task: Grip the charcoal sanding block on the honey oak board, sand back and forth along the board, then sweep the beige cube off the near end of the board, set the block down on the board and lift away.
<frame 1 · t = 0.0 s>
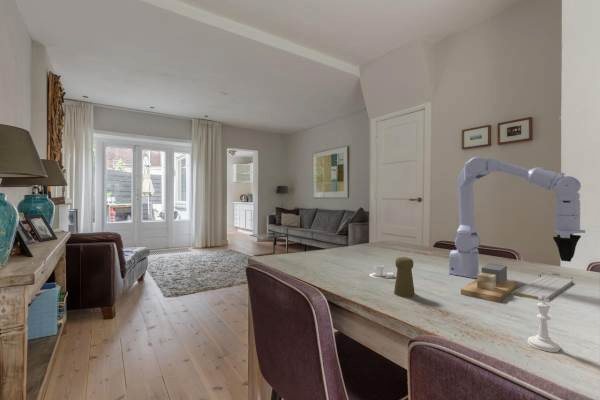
hand: (567, 259, 91), 10 cm above the table, tool pointing down, fingers open, 7 cm apart
teacup and saucer: (382, 279, 107), on the table
cork: (404, 294, 90), on the table
chess piece: (543, 346, 58), on the table
baseboard: (540, 289, 96), on the table
sanding block: (494, 282, 97), point 2 cm above the table, touching board
board: (490, 289, 93), on the table
beige cube: (486, 287, 90), point 2 cm above the table, touching board
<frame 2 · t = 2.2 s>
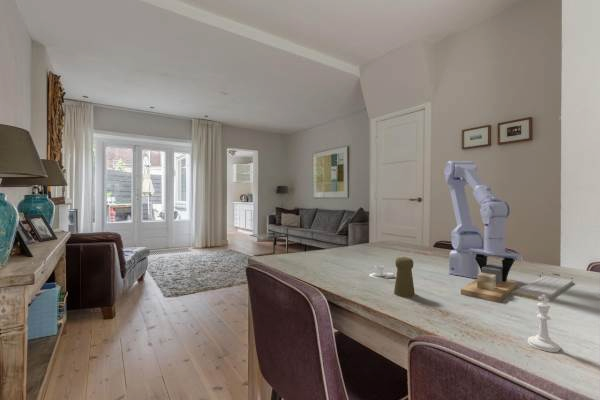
hand: (494, 279, 97), 2 cm above the table, tool pointing down, fingers closed on sanding block, 5 cm apart
sanding block: (494, 282, 97), point 2 cm above the table, touching board, gripper
everything else where it was.
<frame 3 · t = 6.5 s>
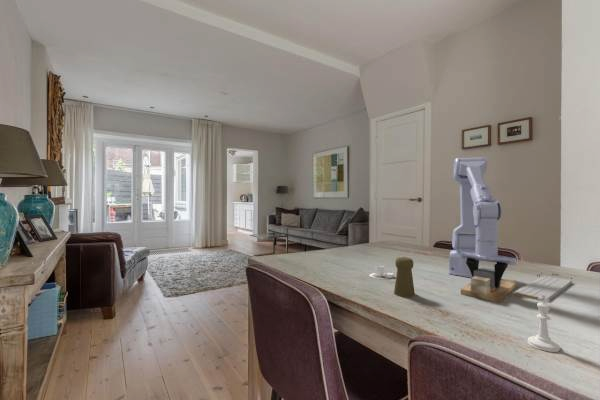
hand: (486, 285, 90), 2 cm above the table, tool pointing down, fingers closed on sanding block, 5 cm apart
sanding block: (487, 286, 91), point 2 cm above the table, touching gripper
beige cube: (480, 292, 86), point 2 cm above the table, touching board
everything else where it was.
when the fingers open (2 cm above the table, at t = 9.4 s): sanding block stays where it is, resting on board.
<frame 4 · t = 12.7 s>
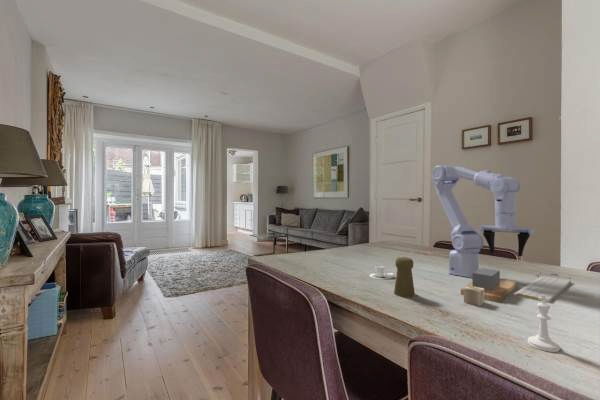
hand: (506, 254, 97), 10 cm above the table, tool pointing down, fingers open, 7 cm apart
sanding block: (486, 288, 90), point 2 cm above the table, touching board
beige cube: (476, 293, 84), point 2 cm above the table, tilted 90°
everything else where it was.
at the end: beige cube inside the target area (4.4 cm from its centre), point 1.9 cm above the table; sanding block inside the target area on the board (2.7 cm from its centre), point 1.5 cm above the board's base; sanding block tilted 0° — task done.
